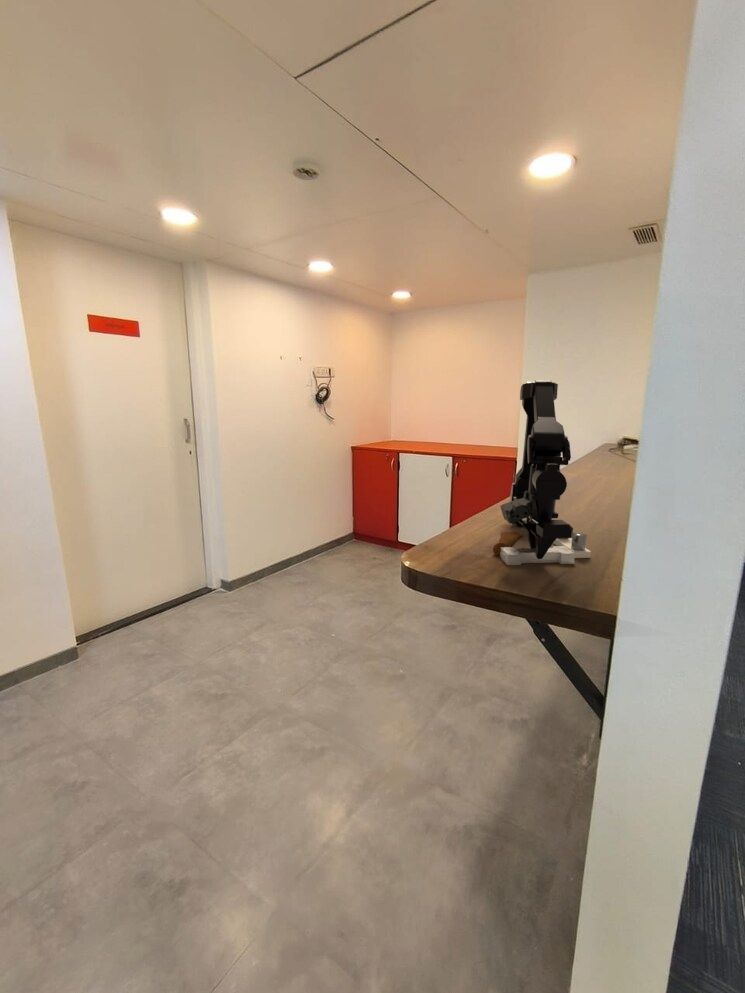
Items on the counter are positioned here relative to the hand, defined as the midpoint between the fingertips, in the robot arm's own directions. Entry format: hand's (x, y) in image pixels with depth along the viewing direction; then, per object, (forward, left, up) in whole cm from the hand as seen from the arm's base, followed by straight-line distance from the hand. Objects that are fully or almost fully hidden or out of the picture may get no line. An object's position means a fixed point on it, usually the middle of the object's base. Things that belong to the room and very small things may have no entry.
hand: (536, 556), depth 100 cm
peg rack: (-7, +11, -1) cm, 13 cm away
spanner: (0, 0, -1) cm, 1 cm away
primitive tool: (-12, -3, -2) cm, 12 cm away
